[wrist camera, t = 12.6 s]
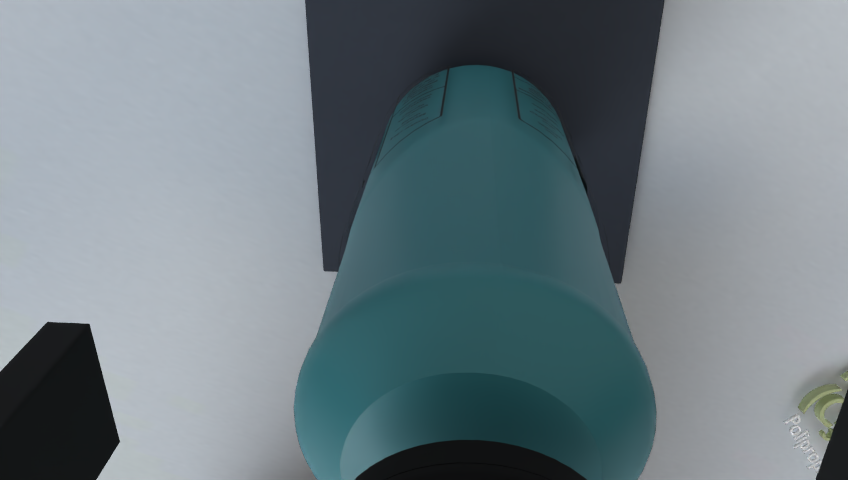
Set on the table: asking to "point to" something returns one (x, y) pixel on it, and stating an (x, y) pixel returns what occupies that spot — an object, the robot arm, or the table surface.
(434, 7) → the felt pad
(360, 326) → the beverage bottle
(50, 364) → the robot arm
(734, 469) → the table surface
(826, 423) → the molecular model
